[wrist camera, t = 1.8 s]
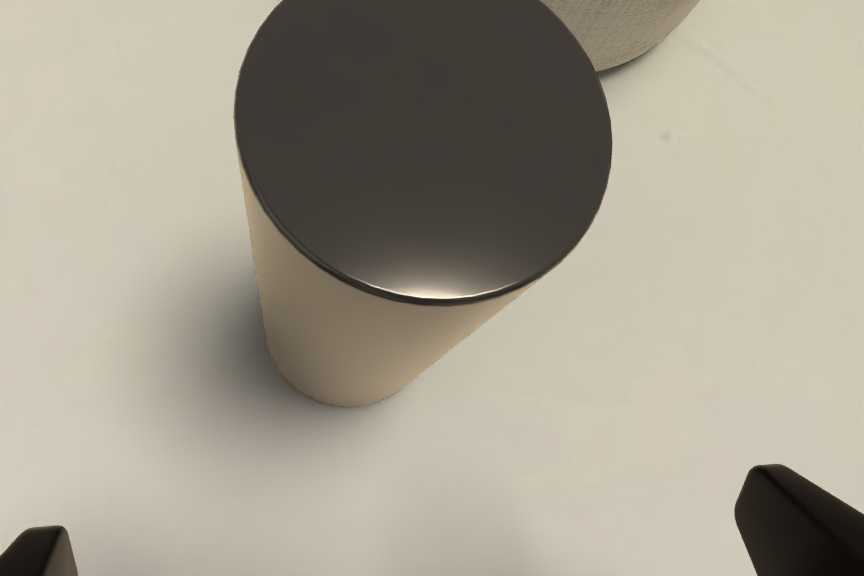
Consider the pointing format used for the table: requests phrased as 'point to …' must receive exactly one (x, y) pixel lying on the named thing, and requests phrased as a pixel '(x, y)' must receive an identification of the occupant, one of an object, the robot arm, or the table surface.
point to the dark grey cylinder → (409, 177)
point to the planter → (619, 25)
